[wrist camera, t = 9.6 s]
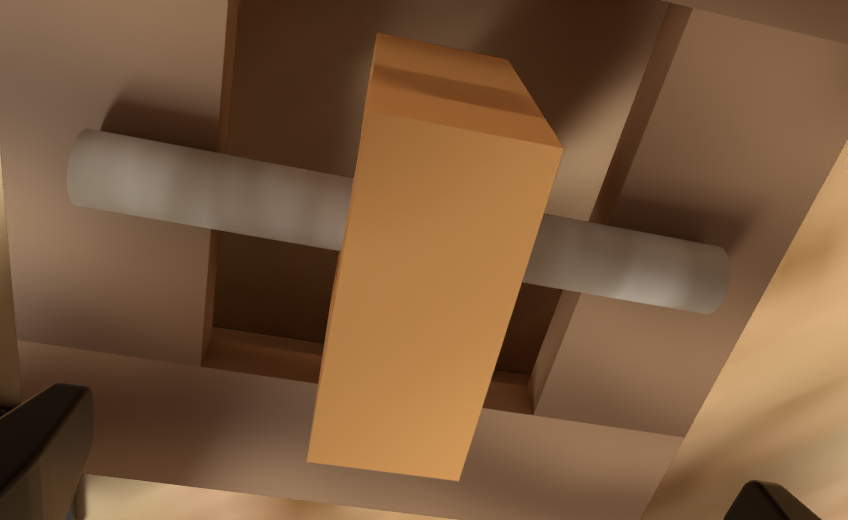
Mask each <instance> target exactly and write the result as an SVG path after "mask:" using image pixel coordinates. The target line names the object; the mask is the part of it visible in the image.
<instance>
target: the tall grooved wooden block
mask: <svg viewBox="0 0 848 520" xmlns="http://www.w3.org/2000/svg"><path fill="white" fill-rule="evenodd" d="M563 151H564V147H563V146H562V144H561V143H560V141H559V140H558V138H557V136H556V135H555V133H554V132H553V130H552V128H551V127H550V125H549V124H548V122H547V121H546V119H545V117H544V116H543V114H542V113H541V111H540V110H539V108H538V106H537V105H536V103H535V102H534V100H533V99H532V97H531V95H530V94H529V92H528V91H527V89H526V87H525V86H524V84H523V83H522V81H521V80H520V78H519V76H518V75H517V73H516V72H515V70H514V69H513V67H512V65H511V64H510V62H509V61H508V60H507V59H502V58H498V57H493V56H488V55H483V54H478V53H474V52H469V51H464V50H459V49H454V48H450V47H445V46H440V45H435V44H431V43H426V42H421V41H416V40H411V39H407V38H402V37H397V36H392V35H387V34H383V33H378V32H377V37H376V42H375V48H374V54H373V60H372V65H371V71H370V77H369V83H368V89H367V94H366V100H365V107H364V115H363V123H362V131H361V138H360V146H359V152H358V157H357V163H356V169H355V175H354V180H353V186H352V192H351V198H350V203H349V209H348V215H347V220H346V226H345V232H344V238H343V243H342V249H341V251H339V256H338V262H337V267H336V273H335V279H334V285H333V290H332V296H331V303H330V309H329V316H328V323H327V329H326V336H325V343H324V350H323V356H322V363H321V370H320V376H319V383H318V390H317V396H316V403H315V410H314V417H313V423H312V430H311V437H310V443H309V450H308V457H307V462H311V463H319V464H327V465H335V466H342V467H350V468H358V469H366V470H374V471H382V472H390V473H398V474H406V475H414V476H422V477H430V478H437V479H445V480H453V481H459V479H460V476H461V473H462V469H463V466H464V463H465V460H466V457H467V454H468V451H469V447H470V444H471V441H472V438H473V435H474V432H475V428H476V425H477V422H478V419H479V416H480V413H481V410H482V406H483V403H484V400H485V397H486V394H487V391H488V387H489V384H490V381H491V378H492V375H493V372H494V369H495V365H496V362H497V359H498V356H499V353H500V350H501V346H502V343H503V340H504V337H505V334H506V331H507V328H508V324H509V321H510V318H511V315H512V312H513V309H514V305H515V302H516V299H517V296H518V293H519V290H520V287H521V283H522V280H523V277H524V274H525V271H526V268H527V264H528V261H529V258H530V255H531V252H532V249H533V246H534V242H535V239H536V236H537V233H538V230H539V227H540V223H541V220H542V217H543V214H544V211H545V208H546V205H547V201H548V198H549V195H550V192H551V189H552V186H553V182H554V179H555V176H556V173H557V170H558V167H559V164H560V160H561V157H562V154H563Z"/></svg>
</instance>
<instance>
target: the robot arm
mask: <svg viewBox="0 0 848 520" xmlns="http://www.w3.org/2000/svg"><path fill="white" fill-rule="evenodd" d="M93 437H94V416H93V393H92V390H91V388H89V387H88V386H86V385H79V384H72V383H65V382H57V383H54V384H52V385H50V386H49V387H47V388H46V389H44V390H42V391H41V392H39V393H38V394H36V395H35V396H33V397H32V398H30V399H28V400H27V401H25V402H24V403H22V404H21V405H19V406H17V407H16V408H10V407H2V406H0V520H76V510H75V491H76V488H77V485H78V483H79V480H80V477H81V475H82V472H83V470H84V467H85V464H86V462H87V459H88V456H89V453H90V451H91V447H92V443H93ZM724 520H821V519H820V518H819V517H818V516H817V515H815V514H814V513H813V512H812V511H811V510H810V509H808V508H807V507H806V506H805V505H804V504H803V503H801V502H800V501H799V500H798V499H797V498H796V497H794V496H793V495H792V494H791V493H790V492H788V491H787V490H786V489H785V488H784V487H782V486H781V485H779V484H776V483H771V482H764V481H757V480H752V481H749V482H748V483H746V484H745V485H744V486H743V488H742V490H741V491H740V493H739V494H738V496H737V497H736V499H735V501H734V502H733V504H732V505H731V507H730V508H729V510H728V512H727V513H726V515H725V517H724Z"/></svg>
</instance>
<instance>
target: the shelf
mask: <svg viewBox="0 0 848 520" xmlns="http://www.w3.org/2000/svg"><path fill="white" fill-rule="evenodd" d="M661 1H665V2H670V3H671V4H670V6H669V9H668V12H667V14H666V17H665V20H664V22H663V25H662V27H661V30H660V33H659V35H658V38H657V41H656V43H655V46H654V49H653V51H652V54H651V57H650V59H649V62H648V65H647V67H646V70H645V73H644V75H643V78H642V81H641V83H640V86H639V89H638V91H637V94H636V97H635V99H634V102H633V105H632V107H631V110H630V113H629V115H628V118H627V121H626V123H625V126H624V129H623V131H622V134H621V137H620V139H619V142H618V144H617V147H616V150H615V152H614V155H613V158H612V160H611V163H610V166H609V168H608V171H607V174H606V176H605V179H604V182H603V184H602V187H601V190H600V192H599V195H598V198H597V200H596V203H595V206H594V208H593V211H592V214H591V216H590V219H589V222H586V221H581V220H575V219H570V218H565V217H559V216H554V215H548V214H543V217H542V220H541V223H540V227H539V230H538V233H537V236H536V239H535V242H534V246H533V249H532V252H531V255H530V258H529V261H528V264H527V268H526V271H525V274H524V277H523V280H522V282H523V283H528V284H534V285H540V286H546V287H552V288H557V289H563V291H562V293H561V296H560V299H559V301H558V304H557V307H556V309H555V312H554V315H553V317H552V320H551V323H550V325H549V328H548V331H547V333H546V336H545V339H544V341H543V344H542V347H541V349H540V352H539V355H538V357H537V360H536V362H535V365H534V368H533V370H532V373H531V375H525V374H518V373H512V372H505V371H499V370H494V372H493V375H492V378H491V381H490V384H489V387H488V391H487V394H486V397H485V400H484V403H483V406H482V410H481V413H480V416H479V419H478V422H477V425H476V428H475V432H474V435H473V438H472V441H471V444H470V447H469V451H468V454H467V457H466V460H465V463H464V466H463V469H462V473H461V476H460V479H459V481H453V480H445V479H437V478H430V477H422V476H414V475H406V474H398V473H390V472H382V471H374V470H366V469H358V468H350V467H342V466H335V465H327V464H319V463H311V462H307V457H308V450H309V443H310V437H311V430H312V423H313V417H314V410H315V403H316V396H317V390H318V383H319V376H320V370H321V363H322V356H323V350H324V344H323V343H317V342H310V341H304V340H297V339H291V338H284V337H278V336H271V335H265V334H258V333H252V332H245V331H239V330H232V329H226V328H219V327H213V326H212V321H213V309H214V297H215V285H216V273H217V261H218V249H219V237H220V230H221V231H226V232H232V233H238V234H244V235H250V236H255V237H261V238H267V239H273V240H279V241H284V242H290V243H296V244H302V245H308V246H313V247H319V248H325V249H331V250H337V251H341V249H342V243H343V238H344V232H345V226H346V220H347V215H348V209H349V203H350V198H351V192H352V186H353V180H354V178H350V177H345V176H340V175H334V174H329V173H323V172H318V171H313V170H307V169H302V168H297V167H291V166H286V165H281V164H275V163H270V162H265V161H259V160H254V159H248V158H243V157H238V156H232V155H227V154H226V153H227V141H228V129H229V117H230V105H231V92H232V80H233V68H234V56H235V44H236V32H237V20H238V8H239V0H0V154H1V165H2V177H3V188H4V199H5V211H6V222H7V234H8V245H9V257H10V268H11V279H12V291H13V302H14V314H15V325H16V336H17V348H18V359H19V371H20V382H21V393H22V403H24V402H25V401H27V400H28V399H30V398H32V397H33V396H35V395H36V394H38V393H39V392H41V391H42V390H44V389H46V388H47V387H49V386H50V385H52V384H54V383H57V382H65V383H72V384H79V385H86V386H88V387H89V388H91V390H92V393H93V416H94V437H93V443H92V447H91V451H90V453H89V456H88V459H87V462H86V464H85V467H84V470H83V472H82V473H85V474H93V475H101V476H109V477H118V478H126V479H134V480H142V481H150V482H158V483H166V484H174V485H182V486H190V487H198V488H207V489H215V490H223V491H231V492H239V493H247V494H255V495H263V496H271V497H279V498H288V499H296V500H304V501H312V502H320V503H328V504H336V505H344V506H352V507H360V508H368V509H377V510H385V511H393V512H401V513H409V514H417V515H425V516H433V517H441V518H449V519H458V520H640V518H641V516H642V515H643V513H644V511H645V509H646V507H647V505H648V504H649V502H650V500H651V498H652V496H653V494H654V493H655V491H656V489H657V487H658V485H659V483H660V482H661V480H662V478H663V476H664V474H665V472H666V471H667V469H668V467H669V465H670V463H671V461H672V460H673V458H674V456H675V454H676V452H677V451H678V449H679V447H680V445H681V443H682V441H683V440H684V438H685V436H686V434H687V432H688V430H689V429H690V427H691V425H692V423H693V421H694V419H695V418H696V416H697V414H698V412H699V410H700V408H701V407H702V405H703V403H704V401H705V399H706V397H707V396H708V394H709V392H710V390H711V388H712V387H713V385H714V383H715V381H716V379H717V377H718V376H719V374H720V372H721V370H722V368H723V366H724V365H725V363H726V361H727V359H728V357H729V355H730V354H731V352H732V350H733V348H734V346H735V344H736V343H737V341H738V339H739V337H740V335H741V333H742V332H743V330H744V328H745V326H746V324H747V323H748V321H749V319H750V317H751V315H752V313H753V312H754V310H755V308H756V306H757V304H758V302H759V301H760V299H761V297H762V295H763V293H764V291H765V290H766V288H767V286H768V284H769V282H770V280H771V279H772V277H773V275H774V273H775V271H776V269H777V268H778V266H779V264H780V262H781V260H782V258H783V257H784V255H785V253H786V251H787V249H788V248H789V246H790V244H791V242H792V240H793V238H794V237H795V235H796V233H797V231H798V229H799V227H800V226H801V224H802V222H803V220H804V218H805V216H806V215H807V213H808V211H809V209H810V207H811V205H812V204H813V202H814V200H815V198H816V196H817V194H818V193H819V191H820V189H821V187H822V185H823V184H824V182H825V180H826V178H827V176H828V174H829V173H830V171H831V169H832V167H833V165H834V163H835V162H836V160H837V158H838V156H839V154H840V152H841V151H842V149H843V147H844V145H845V143H846V141H847V140H848V0H661Z"/></svg>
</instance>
